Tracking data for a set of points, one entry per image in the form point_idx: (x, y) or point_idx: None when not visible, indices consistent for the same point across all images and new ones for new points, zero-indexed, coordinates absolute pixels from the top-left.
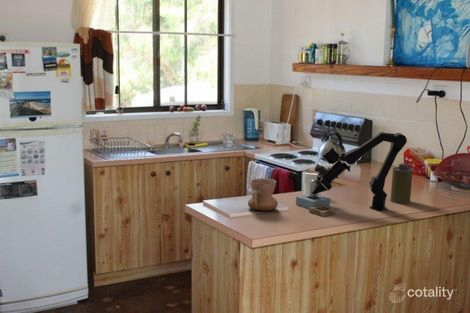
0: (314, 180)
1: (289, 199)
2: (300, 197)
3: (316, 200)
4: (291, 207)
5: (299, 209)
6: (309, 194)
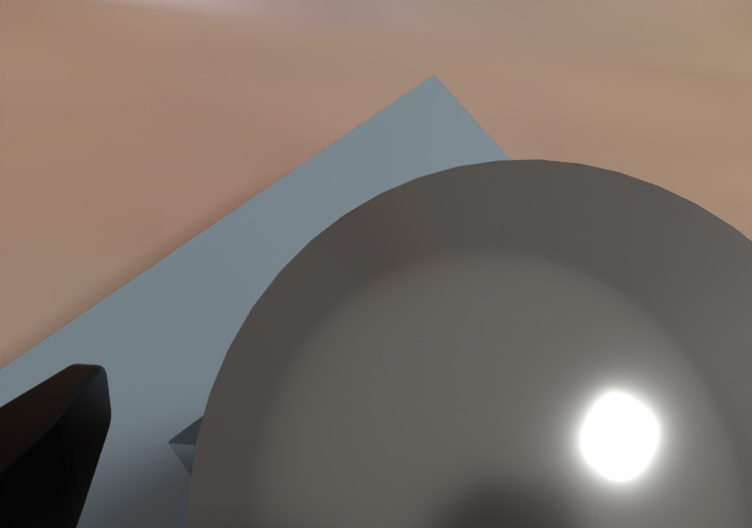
0: (412, 482)
1: (721, 94)
2: (368, 151)
3: (83, 519)
4: (200, 61)
5: (68, 172)
6: None
